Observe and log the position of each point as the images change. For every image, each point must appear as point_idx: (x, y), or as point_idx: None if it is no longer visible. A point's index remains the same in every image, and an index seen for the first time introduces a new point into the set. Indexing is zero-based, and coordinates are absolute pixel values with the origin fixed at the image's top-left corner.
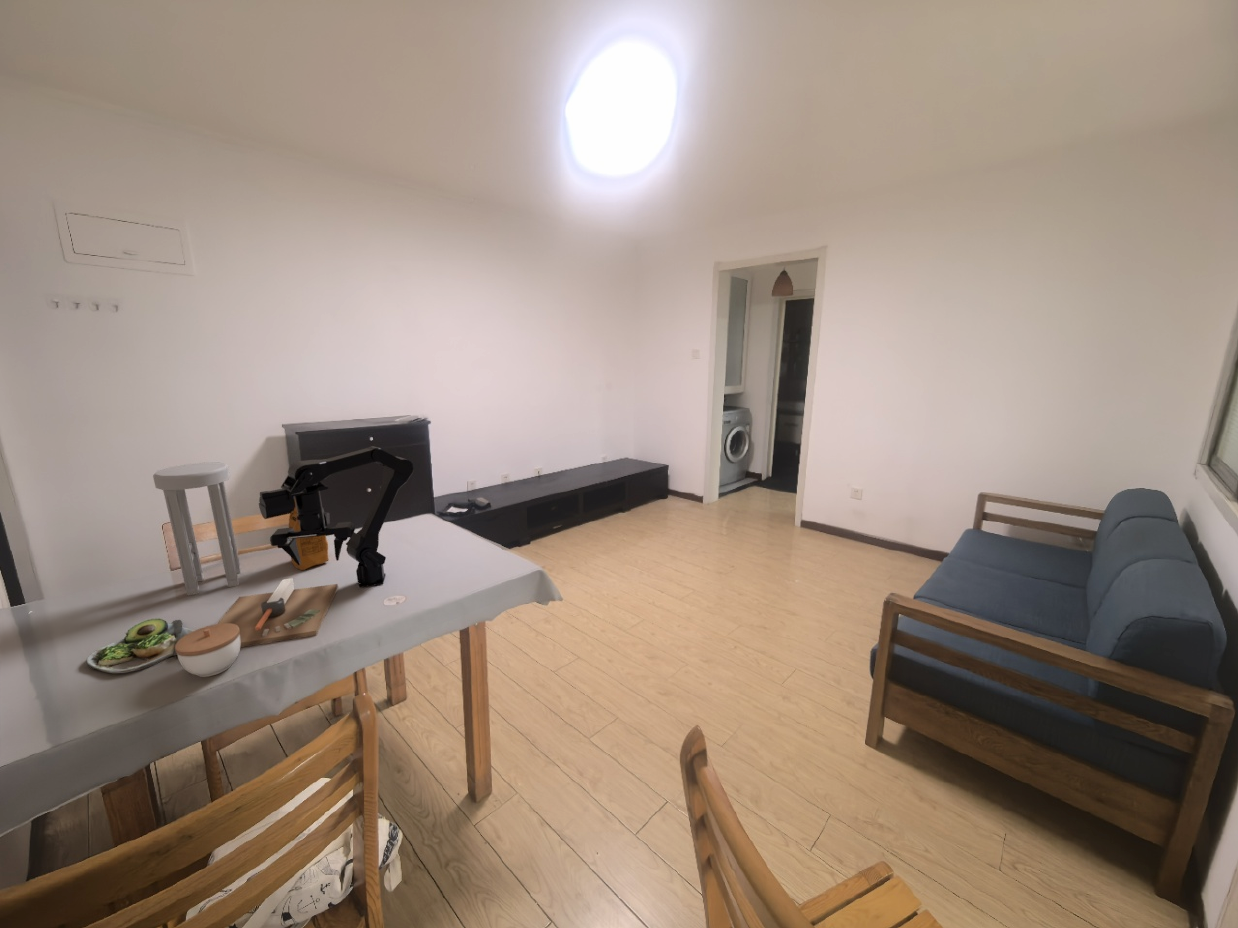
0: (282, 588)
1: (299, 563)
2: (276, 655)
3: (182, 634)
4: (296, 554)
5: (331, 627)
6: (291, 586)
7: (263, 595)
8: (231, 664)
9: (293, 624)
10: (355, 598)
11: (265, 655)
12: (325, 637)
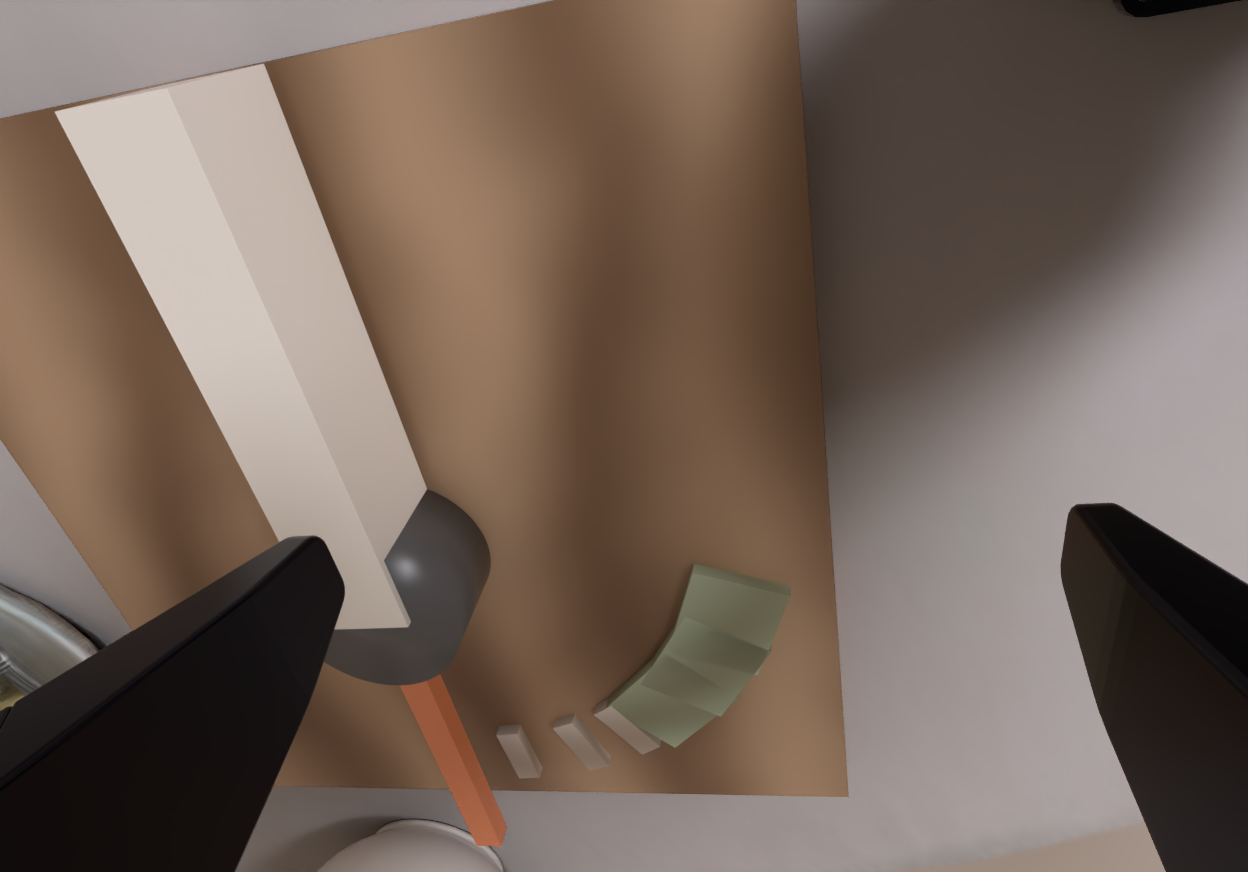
0: (264, 390)
1: (330, 621)
2: (684, 858)
3: (18, 659)
4: (189, 827)
5: (926, 717)
6: (261, 178)
7: (30, 171)
8: (500, 862)
9: (664, 729)
10: (1076, 317)
11: (625, 845)
12: (912, 797)
